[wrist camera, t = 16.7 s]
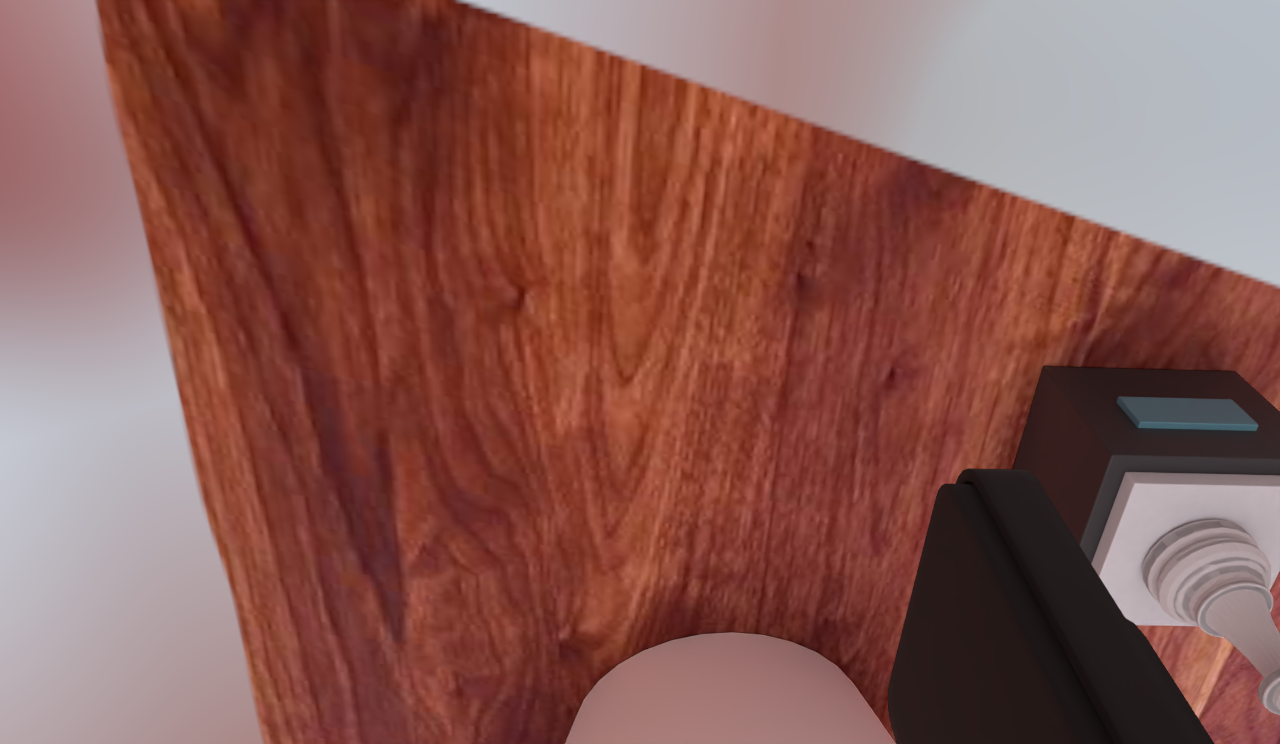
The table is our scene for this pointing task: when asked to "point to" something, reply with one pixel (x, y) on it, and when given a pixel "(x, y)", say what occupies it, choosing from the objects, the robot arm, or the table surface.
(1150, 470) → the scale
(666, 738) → the white tapered cylinder
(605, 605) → the table surface
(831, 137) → the table surface
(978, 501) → the robot arm
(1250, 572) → the chess piece
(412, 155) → the table surface
